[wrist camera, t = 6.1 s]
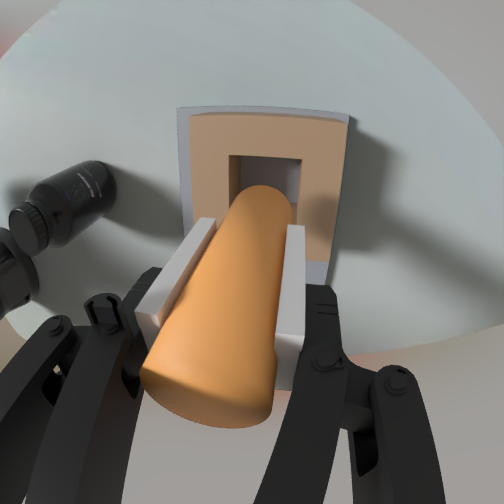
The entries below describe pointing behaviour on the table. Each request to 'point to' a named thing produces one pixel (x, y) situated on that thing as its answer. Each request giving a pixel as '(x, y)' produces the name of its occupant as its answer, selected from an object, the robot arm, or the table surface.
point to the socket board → (265, 167)
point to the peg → (226, 321)
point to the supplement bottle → (62, 207)
